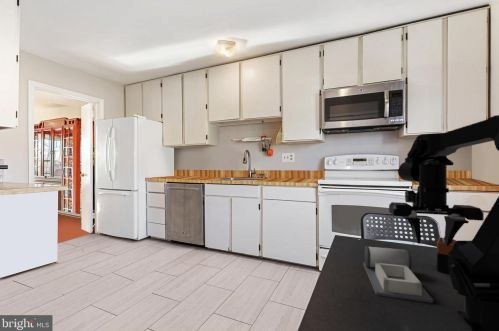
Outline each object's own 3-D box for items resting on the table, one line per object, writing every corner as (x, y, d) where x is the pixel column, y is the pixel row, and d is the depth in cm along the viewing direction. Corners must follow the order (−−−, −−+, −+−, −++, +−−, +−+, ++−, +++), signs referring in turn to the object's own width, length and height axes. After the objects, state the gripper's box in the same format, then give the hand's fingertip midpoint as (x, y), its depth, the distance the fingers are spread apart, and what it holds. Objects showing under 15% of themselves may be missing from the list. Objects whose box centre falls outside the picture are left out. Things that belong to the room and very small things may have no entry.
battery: (436, 271, 75) (436, 238, 75) (438, 265, 80) (438, 234, 80) (455, 276, 72) (455, 241, 72) (456, 268, 77) (456, 236, 77)
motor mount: (433, 303, 58) (433, 273, 58) (376, 296, 61) (376, 267, 61) (405, 269, 77) (405, 246, 77) (363, 264, 80) (363, 243, 80)
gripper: (460, 182, 68) (460, 238, 68) (384, 180, 74) (384, 233, 74) (485, 185, 58) (485, 252, 58) (394, 183, 63) (394, 244, 63)
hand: (432, 244), depth 63 cm, fingers open, 6 cm apart
